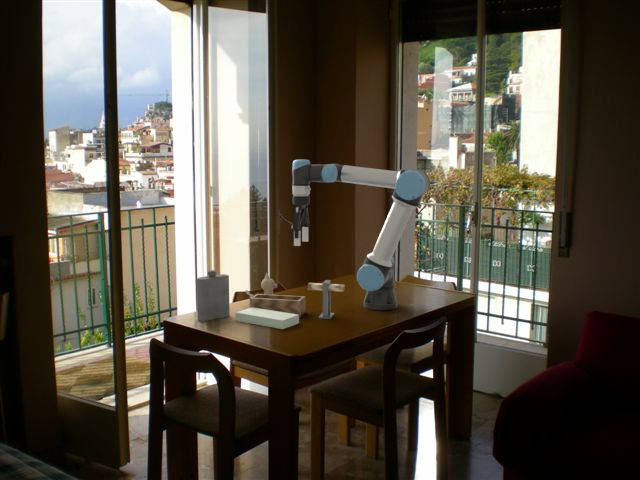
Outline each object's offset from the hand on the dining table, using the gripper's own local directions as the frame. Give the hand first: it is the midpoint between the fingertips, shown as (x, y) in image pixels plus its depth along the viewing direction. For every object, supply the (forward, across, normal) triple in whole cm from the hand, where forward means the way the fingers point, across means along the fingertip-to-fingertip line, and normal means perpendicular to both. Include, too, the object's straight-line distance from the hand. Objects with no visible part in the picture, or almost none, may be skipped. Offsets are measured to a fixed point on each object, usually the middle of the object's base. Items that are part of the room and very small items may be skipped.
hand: (301, 243), depth 303 cm
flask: (+29, -27, +31) cm, 50 cm away
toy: (+29, +1, +19) cm, 35 cm away
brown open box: (+29, -13, +7) cm, 32 cm away
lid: (+29, -28, +7) cm, 41 cm away
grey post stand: (+29, -13, -14) cm, 35 cm away
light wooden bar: (+18, -13, -14) cm, 26 cm away
